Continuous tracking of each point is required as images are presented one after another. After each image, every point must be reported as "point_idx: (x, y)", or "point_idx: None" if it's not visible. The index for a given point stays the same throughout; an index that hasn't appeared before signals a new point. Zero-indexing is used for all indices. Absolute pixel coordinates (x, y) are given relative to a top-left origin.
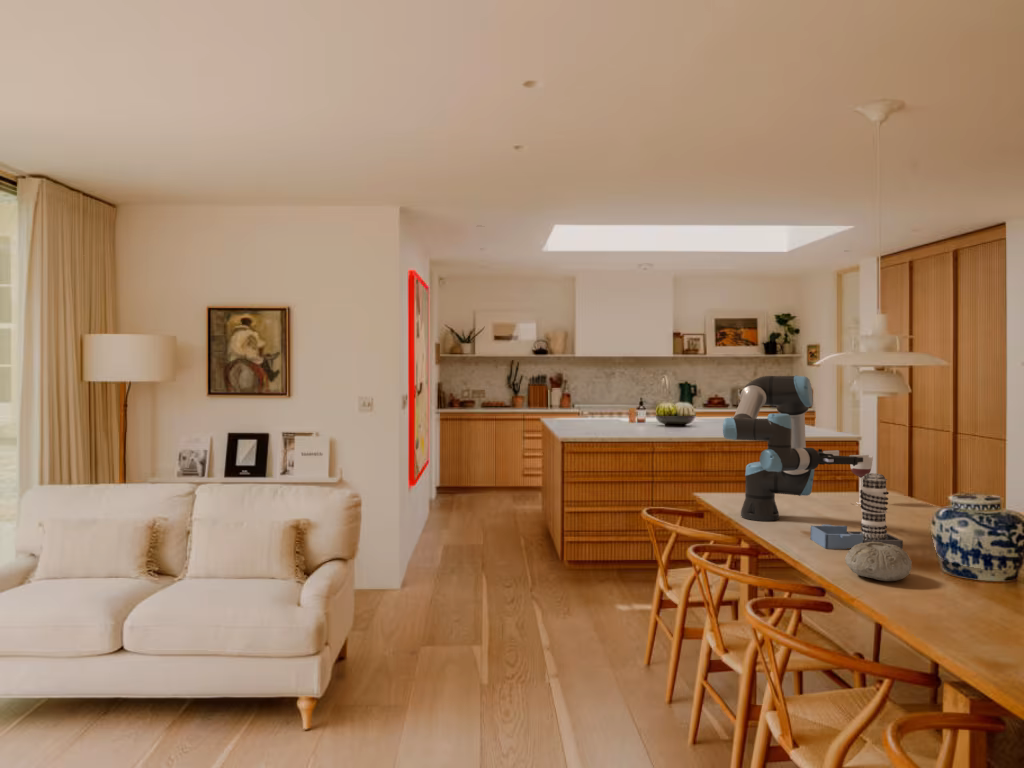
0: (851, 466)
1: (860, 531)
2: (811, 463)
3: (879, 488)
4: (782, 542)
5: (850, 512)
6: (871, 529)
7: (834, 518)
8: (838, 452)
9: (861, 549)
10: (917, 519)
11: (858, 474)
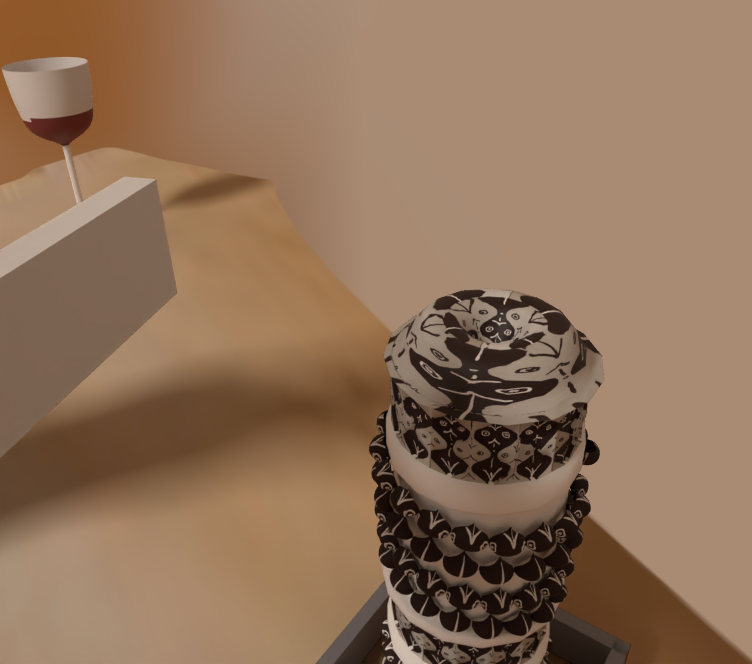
0: (23, 112)
1: (343, 633)
2: None
3: (576, 449)
4: None
5: None
6: None
7: (63, 403)
8: (154, 215)
9: None
10: (310, 267)
11: (57, 137)
